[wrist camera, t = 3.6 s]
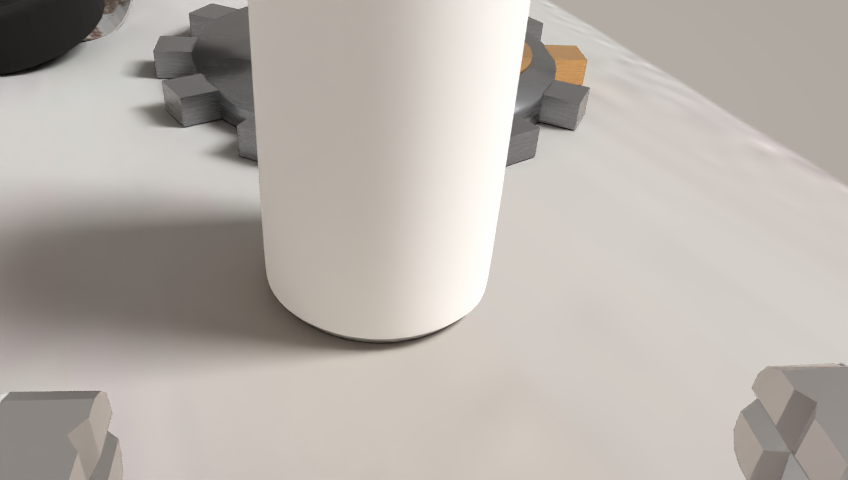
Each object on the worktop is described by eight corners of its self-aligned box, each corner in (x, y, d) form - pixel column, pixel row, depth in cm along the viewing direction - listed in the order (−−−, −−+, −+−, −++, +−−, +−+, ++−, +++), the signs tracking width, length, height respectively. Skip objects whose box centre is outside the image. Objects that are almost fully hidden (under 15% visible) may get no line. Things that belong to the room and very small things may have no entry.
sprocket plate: (114, 180, 25) (107, 142, 25) (189, 1, 41) (186, -26, 40) (649, 179, 28) (658, 145, 27) (529, 11, 43) (533, -14, 43)
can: (451, 380, 19) (518, -156, 12) (222, 313, 20) (166, -199, 13) (509, 243, 24) (580, -187, 17) (323, 198, 25) (320, -216, 19)
